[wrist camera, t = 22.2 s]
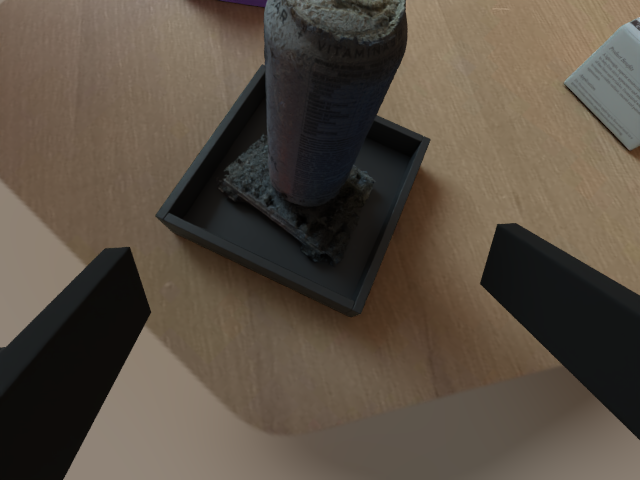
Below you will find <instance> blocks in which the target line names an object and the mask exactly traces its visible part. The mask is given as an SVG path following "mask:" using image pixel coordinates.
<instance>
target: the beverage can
mask: <svg viewBox="0 0 640 480" xmlns="http://www.w3.org/2000/svg"><path fill="white" fill-rule="evenodd" d="M405 7H406V0H267V3H266V7H265V12H264V42H265V48H264V57H265V79H266V80H265V83H266V111H267V112H266V113H267V135H268V136H266V138H263V137H265V135H264V134H263V135H262V136H261V140H262V141H263V142H261V140H259V139H258V140H257V141H256V142H255V143H254V144H252V145H253V146H250V149H249V150H247V151H246V153H244V152H243V154H241V156H238V157H239V158H237V162H236V160H235V161H234V163H233V164H230V165H228V167H226V168H225V169H226V170H224V171H229V175H227V174H226V175H225V176H227V177H226V178H225V179H223V180H224V182H222V180H220V181H218V178H219V177H218V178H216V182H217V187H216V188H217V189H219V190H221V192H222V193H223V194H224V195H225V196H227V197H228V198H230V199H232V200H233V201H235V202H238V201H242V202H243V201H244V202H246V203H248V204H250V205H252V207H254V208H255V209H259V211H260V212H262V214H263V215H264V214H265V216H266V217H269V221H271V222H273V223H274V224H276V225H278V226H279V227H281V228H282V229H283V230H285V231H286V232H287V233H288V232H289V234H292V235H293V236H292V237H293V238H295V239H296V240H298V241H299V242H300V243H302V247H301V249H300V251H301V252H302V253H304V255H306V256H308V257H309V258H311V260H312V261H314V262H316V261H317V262H319V261H321V260H323V258H324V257H323V256H322V257H323V258H322V259H321V260H319V259H320V256H321V253H322V254H325V253H326V254H328V256H331V258H332V260H333V261H334V262H335V263H336V262H337V263H339V262H340V261H341V260H339V259H342V258H344V256H345V255H343V254H344V251H346V250H348V248H347V249H346V246H347V244H348V243H349V241H348V240H350V239H351V238H350V237H351V236H350V235H349V234H350V233H348V234H347V232H345V230H344V229H339V228H341V226H342V225H343V222H346V223H347V226H348V228H349V227H350V226H349V225H352V224H353V225H352V226H353V229H354V224H355V225H356V227H357V225H358V220H359V219H360V217H359V215H360V214H362V213H360V212H359V211H358V210H361V208H362V207H363V206H364V205H366V202H365V201H366V199H367V198H368V197H369V195H370V192H371V190H372V187H373V185H374V184H372V183H374V182H375V180H373V179H372V177H369V175H368V173H367V172H366V171H365V172H364V171H361V170H360V169H358V168H357V167H356V166H355V165H354V164H355V162H356V158H357V157H358V155H359V151H360V150H361V147H362V145H363V143H364V141H365V138H366V136H367V134H368V132H369V130H370V128H371V126H372V124H373V122H374V119H375V117H376V115H377V113H378V111H379V108H380V106H381V104H382V102H383V101H384V100H383V99H384V97H385V95H386V93H387V91H388V89H389V86H390V84H391V82H392V80H393V79H394V75H395V73H396V71H397V69H398V68H399V66H400V64H401V61H402V58H403V56H404V53H405V50H406V45H407V32H408V31H407V18H406V12H405V10H406V9H405ZM255 145H256V146H255ZM247 149H248V148H247ZM238 159H240V160H241V162H242V161H244V162H243V163H241V164H239V163H238ZM371 184H372V185H371ZM368 199H369V198H368ZM353 217H354V218H353ZM357 219H358V220H357ZM350 220H351V221H350ZM347 221H349V224H348V222H347ZM346 223H345V224H346ZM350 228H351V227H350ZM338 229H339V230H338ZM353 229H351V230H353ZM355 229H356V228H355ZM353 231H354V230H353ZM331 258H330V259H331ZM318 260H319V261H318ZM326 262H327V260H326V261H325V263H326ZM331 262H332V261H331ZM337 263H336V264H337ZM330 265H331V266H333V265H332V264H331V263H330Z"/></svg>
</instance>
